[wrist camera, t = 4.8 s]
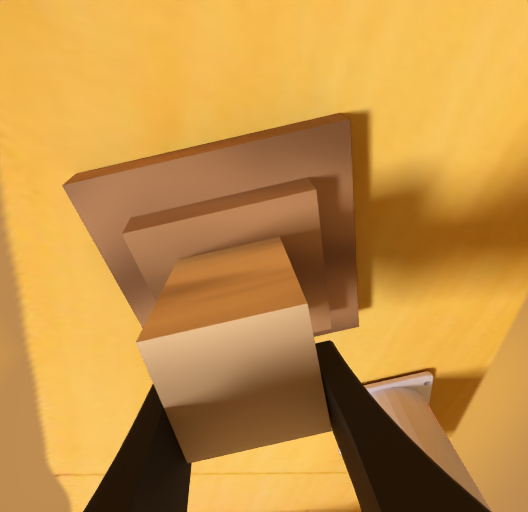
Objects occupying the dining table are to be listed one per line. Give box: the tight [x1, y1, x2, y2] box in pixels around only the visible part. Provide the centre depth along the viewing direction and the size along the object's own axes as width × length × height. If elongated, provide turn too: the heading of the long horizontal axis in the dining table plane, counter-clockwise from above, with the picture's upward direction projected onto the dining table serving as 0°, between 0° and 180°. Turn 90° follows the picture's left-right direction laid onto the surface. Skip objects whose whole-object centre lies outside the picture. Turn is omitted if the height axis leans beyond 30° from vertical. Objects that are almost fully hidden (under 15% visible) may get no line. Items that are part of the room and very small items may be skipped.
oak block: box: [136, 236, 332, 463], centre depth 12 cm, size 4×4×6 cm
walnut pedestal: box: [62, 113, 359, 337], centre depth 16 cm, size 12×12×3 cm
